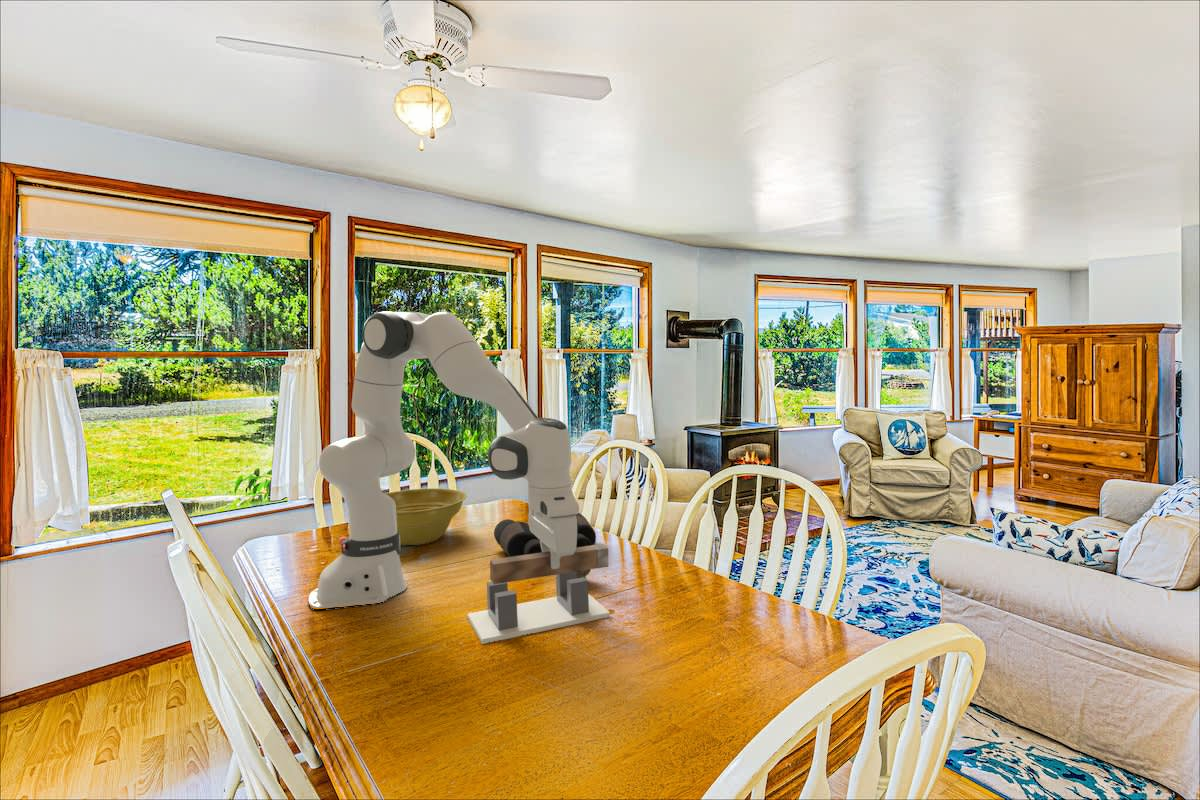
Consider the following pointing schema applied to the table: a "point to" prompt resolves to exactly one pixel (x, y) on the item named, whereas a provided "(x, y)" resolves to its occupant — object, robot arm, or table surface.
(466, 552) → the table surface
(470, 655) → the table surface
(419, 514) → the planter bowl
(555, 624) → the board
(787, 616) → the table surface
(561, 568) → the walnut bar
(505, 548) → the binoculars
